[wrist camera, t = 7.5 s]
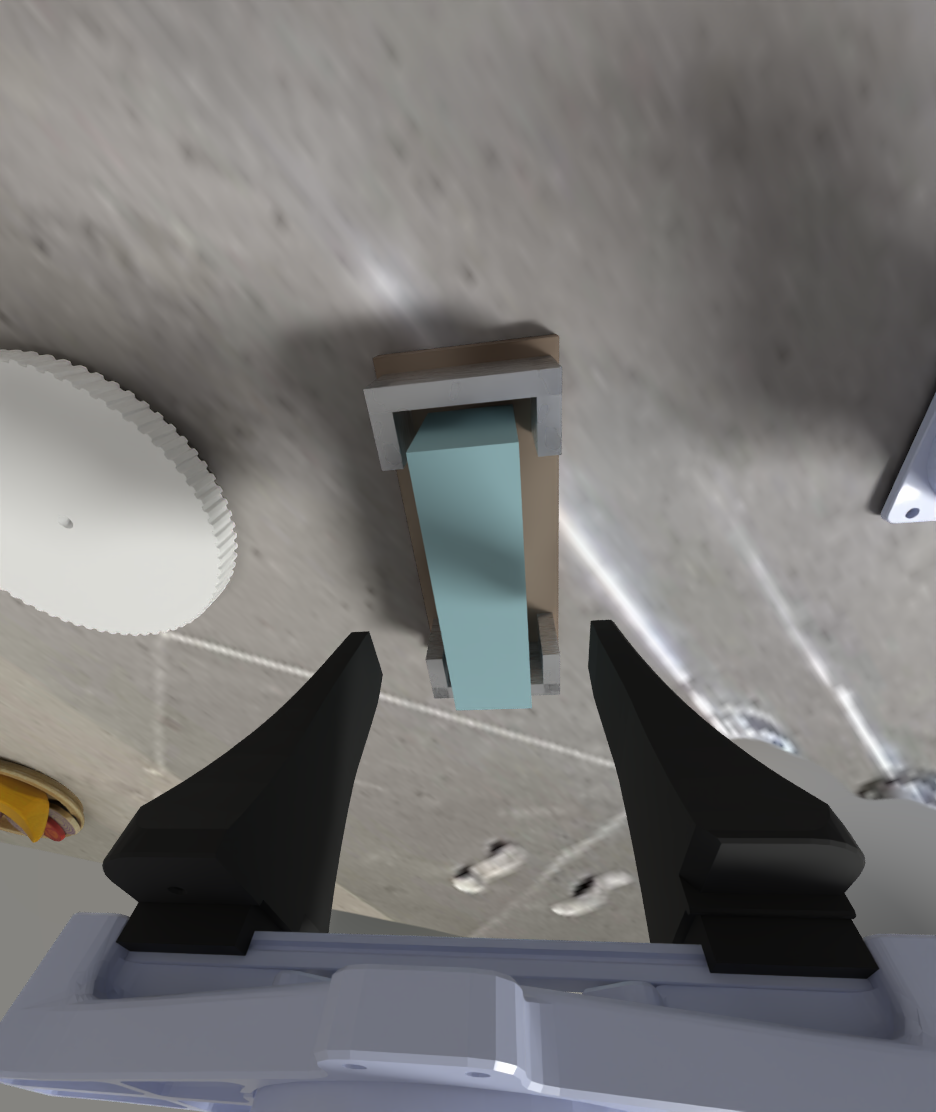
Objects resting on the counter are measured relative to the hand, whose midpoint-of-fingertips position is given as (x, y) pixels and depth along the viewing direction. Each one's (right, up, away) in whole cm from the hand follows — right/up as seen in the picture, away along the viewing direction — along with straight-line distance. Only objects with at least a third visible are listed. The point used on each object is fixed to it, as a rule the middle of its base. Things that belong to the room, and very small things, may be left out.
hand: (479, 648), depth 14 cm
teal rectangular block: (0, +4, +6) cm, 7 cm away
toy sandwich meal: (-42, -18, +24) cm, 52 cm away
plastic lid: (-19, +6, +8) cm, 21 cm away
